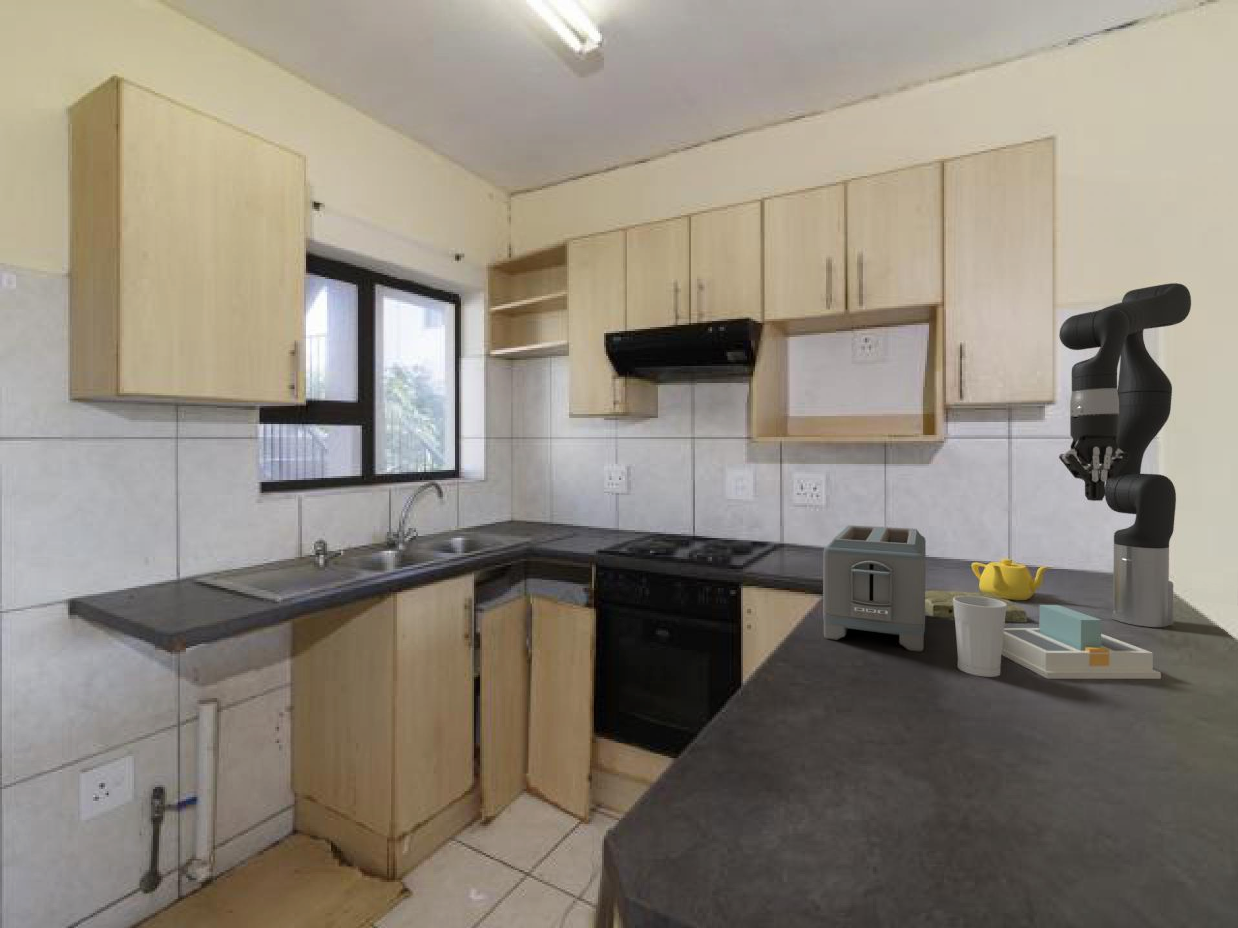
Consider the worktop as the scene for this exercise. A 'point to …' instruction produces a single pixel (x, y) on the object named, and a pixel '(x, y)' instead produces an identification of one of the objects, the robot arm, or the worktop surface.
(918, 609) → the toaster
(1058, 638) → the panel
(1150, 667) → the tray
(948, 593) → the decorative tile
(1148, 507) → the robot arm
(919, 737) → the worktop surface
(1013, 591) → the teapot
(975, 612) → the cup
